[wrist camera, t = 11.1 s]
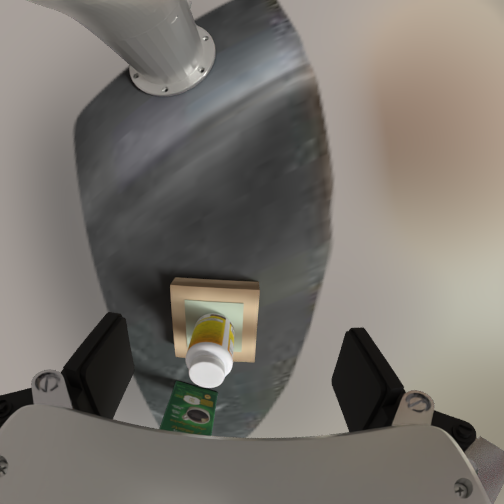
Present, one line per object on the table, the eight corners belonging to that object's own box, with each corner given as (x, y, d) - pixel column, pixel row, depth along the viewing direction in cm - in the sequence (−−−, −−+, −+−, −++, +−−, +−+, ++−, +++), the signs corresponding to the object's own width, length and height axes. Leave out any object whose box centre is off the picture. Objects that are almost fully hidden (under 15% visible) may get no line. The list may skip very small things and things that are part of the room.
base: (175, 277, 39) (169, 285, 36) (258, 281, 39) (259, 290, 36) (179, 346, 42) (175, 357, 39) (253, 350, 42) (254, 362, 39)
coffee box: (172, 389, 44) (156, 442, 32) (174, 378, 44) (157, 433, 31) (214, 400, 45) (207, 456, 32) (218, 391, 44) (211, 447, 32)
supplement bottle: (187, 325, 37) (171, 370, 27) (216, 304, 36) (207, 347, 26) (213, 351, 38) (205, 399, 28) (242, 331, 38) (242, 379, 28)
